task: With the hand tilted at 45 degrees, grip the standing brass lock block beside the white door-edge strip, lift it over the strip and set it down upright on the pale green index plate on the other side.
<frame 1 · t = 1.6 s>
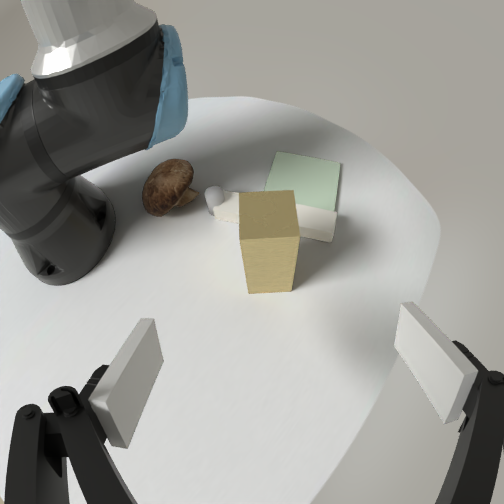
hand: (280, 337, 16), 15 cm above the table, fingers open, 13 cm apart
mushroom: (174, 201, 40), on the table
index plate: (303, 182, 40), on the table
door edge: (274, 220, 37), on the table
lock block: (268, 273, 34), on the table
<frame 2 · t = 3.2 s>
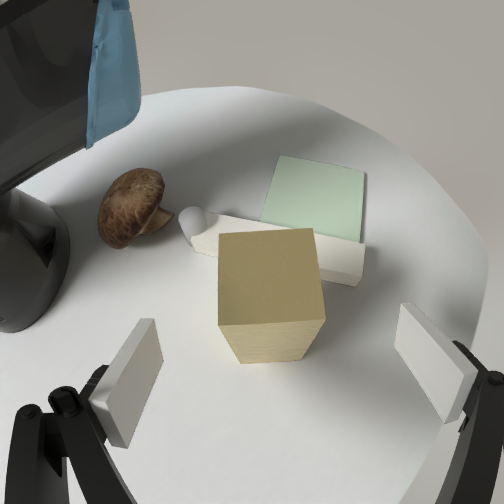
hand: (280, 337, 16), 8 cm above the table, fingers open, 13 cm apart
mushroom: (142, 225, 29), on the table
index plate: (315, 199, 29), on the table
door edge: (277, 253, 27), on the table
lock block: (269, 333, 23), on the table
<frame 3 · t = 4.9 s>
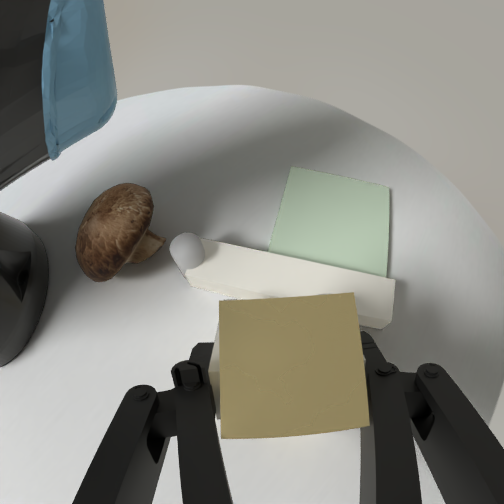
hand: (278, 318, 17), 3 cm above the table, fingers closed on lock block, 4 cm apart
mushroom: (129, 250, 25), on the table
index plate: (334, 220, 25), on the table
door edge: (290, 290, 22), on the table
lock block: (280, 388, 19), on the table, touching gripper
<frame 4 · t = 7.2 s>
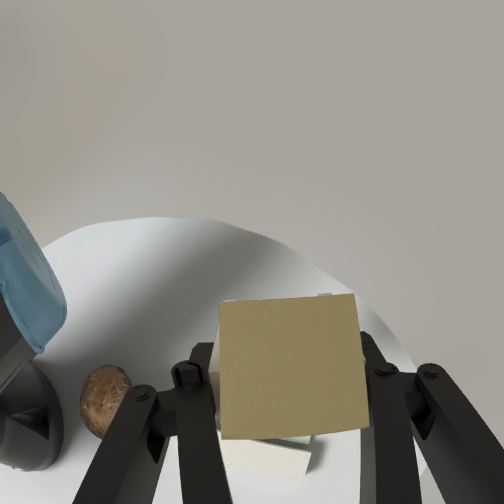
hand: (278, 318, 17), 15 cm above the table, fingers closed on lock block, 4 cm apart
mushroom: (120, 404, 29), on the table
door edge: (236, 448, 26), on the table
lock block: (280, 388, 19), point 12 cm above the table, touching gripper
when the fingers open (5 cm above the table, at t = 9.3 s): lock block stays where it is, resting on index plate.
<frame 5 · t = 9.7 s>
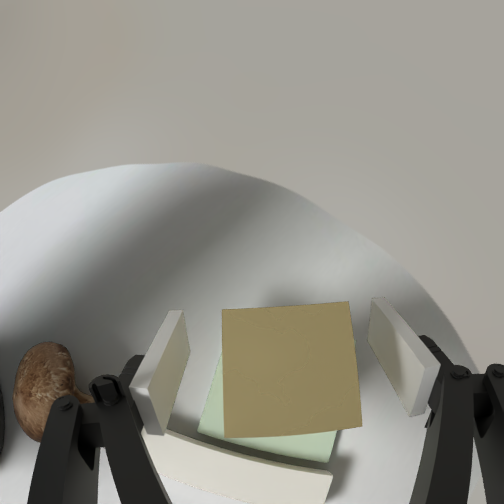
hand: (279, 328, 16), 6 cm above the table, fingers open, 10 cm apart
mushroom: (67, 397, 20), on the table
index plate: (279, 389, 20), on the table
door edge: (222, 468, 17), on the table
lock block: (279, 389, 19), point 1 cm above the table, touching index plate
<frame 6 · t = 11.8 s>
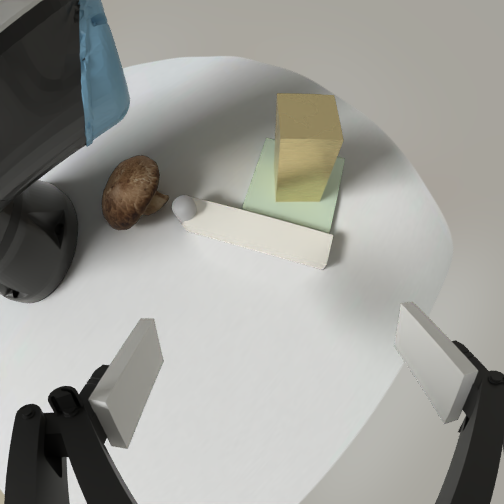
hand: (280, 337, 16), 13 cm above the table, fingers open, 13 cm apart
mushroom: (141, 203, 33), on the table
index plate: (295, 184, 32), on the table
door edge: (257, 236, 31), on the table
lock block: (296, 182, 32), point 1 cm above the table, touching index plate
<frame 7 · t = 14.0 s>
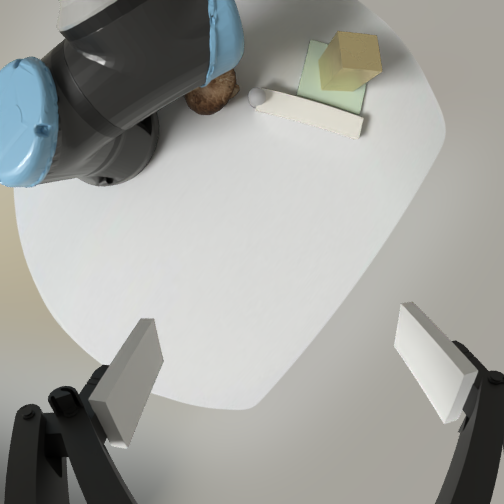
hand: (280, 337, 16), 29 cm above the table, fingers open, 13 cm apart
mushroom: (212, 90, 38), on the table
index plate: (334, 76, 37), on the table
door edge: (308, 114, 39), on the table
lock block: (335, 75, 37), point 1 cm above the table, touching index plate
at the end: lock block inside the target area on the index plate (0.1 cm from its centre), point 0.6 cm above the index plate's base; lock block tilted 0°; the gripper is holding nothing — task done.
